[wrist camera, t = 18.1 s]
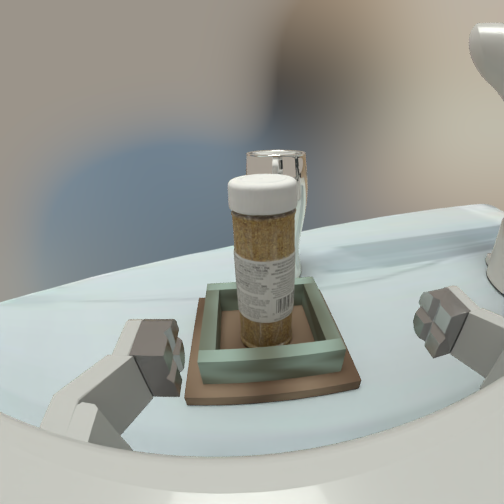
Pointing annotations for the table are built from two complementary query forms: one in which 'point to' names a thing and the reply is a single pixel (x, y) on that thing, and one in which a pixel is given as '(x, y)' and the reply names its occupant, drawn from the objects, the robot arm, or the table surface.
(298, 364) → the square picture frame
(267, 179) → the sprinkles bottle
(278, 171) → the beer glass
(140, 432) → the table surface
